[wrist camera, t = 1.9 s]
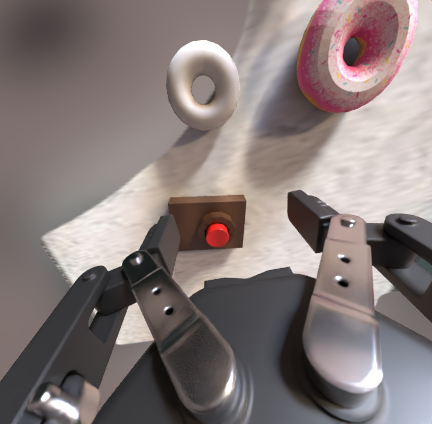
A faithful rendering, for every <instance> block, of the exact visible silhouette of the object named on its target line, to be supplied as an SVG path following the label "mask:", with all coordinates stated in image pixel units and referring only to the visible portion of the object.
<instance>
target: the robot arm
mask: <svg viewBox="0 0 432 424" xmlns="http://www.w3.org/2000/svg"><path fill="white" fill-rule="evenodd" d="M287 213H288V218H289V220H290V222H291V223H292V224H293V226H294V227H295V228H296V229H297V231H298V232H299V233H300V234H301V236H302V237H303V238H304V239H305V241H306V242H307V243H308V244H309V246H310V247H311V248H312V249H313V251H314V252H315V253H321V252H322V257H321V261H320V265H319V269H318V274H317V278H316V279H315V278H312V277H309V276H306V275H302V274H293V272H292V271H291V269H290V267H285V268H279V269H273V270H268V271H265V272H263V273H261V274H258V275H256V276H253V277H251V278H248V279H242V278H220V279H214V280H208V281H204V288H203V289H201V290H199V291H197V292H196V293H194V294H193V295H192V296H190V297H189V298H188V297H187V295H186V294H185V293H184V292H183V291H182V289H181V288H180V287H179V286H178V284H177V283H176V282H175V281H174V280H173V278H172V275H173V270H174V266H175V261H176V257H177V253H178V248H179V244H180V233H179V230H178V227H177V225H176V222H175V219H174V216H173V215H172V214H170V215H165V216H161V217H160V219H159V221H158V223H157V224H155V225H154V226H152V227H151V228H150V230H149V231H148V233H147V235H146V237H145V239H144V241H143V243H142V245H141V247H140V249H139V251H136V252H134V253H132V254H130V255H129V256H127V257H126V258H125V260H124V261H123V263H122V266H121V267H118V268H116V269H113V270H111V271H107V269H106V268H105V267H104V266H96V267H93V268H91V269H89V270H87V271H86V272H84V273H83V274H82V275H81V276H80V277H79V278H78V279H77V280H76V281H75V283H74V284H73V285H72V287H71V288H70V289H69V291H68V292H67V293H66V295H65V296H64V298H63V299H62V300H61V301H60V303H59V304H58V305H57V307H56V308H55V309H54V311H53V312H52V313H51V315H50V316H49V317H48V319H47V320H46V322H45V323H44V324H43V326H42V327H41V328H40V329H39V331H38V332H37V334H36V335H35V336H34V338H33V339H32V340H31V341H30V343H29V344H28V346H27V347H26V348H25V349H24V351H23V352H22V353H21V355H20V356H19V358H18V359H17V360H16V361H15V363H14V364H13V365H12V367H11V368H10V369H9V371H8V372H7V374H6V375H5V376H4V378H3V379H2V380H1V382H0V424H432V341H431V340H429V339H427V338H425V337H424V336H422V335H420V334H418V333H416V332H414V331H412V330H411V329H409V328H407V327H405V326H403V325H401V324H399V323H398V322H396V321H394V320H392V319H390V318H388V317H386V316H385V315H383V314H381V313H379V312H377V311H375V310H374V293H373V276H372V266H374V267H375V268H376V269H377V270H378V271H379V272H380V273H381V274H382V275H383V276H384V277H385V278H386V279H387V280H389V281H390V282H391V283H392V284H393V285H394V286H395V287H396V288H397V289H398V290H399V291H400V292H401V293H402V294H403V295H404V296H405V297H406V298H407V299H408V300H409V301H410V302H411V303H412V304H413V305H414V306H415V307H416V308H417V309H418V310H419V311H420V312H422V314H423V315H424V316H425V317H426V318H428V319H429V320H430V321H431V322H432V275H431V274H429V273H428V272H427V271H425V270H424V269H423V268H421V267H420V266H419V265H417V264H416V263H415V262H414V259H415V257H416V255H419V256H420V257H422V258H423V259H425V260H426V261H427V262H429V263H430V264H431V265H432V223H430V222H428V221H427V220H425V219H422V218H420V217H417V216H414V215H409V214H390V215H388V216H386V218H385V221H384V223H366V222H365V221H364V220H363V219H362V218H360V217H358V216H355V215H351V214H339V213H338V212H337V211H335V210H334V209H332V208H331V207H330V206H327V204H326V203H324V202H323V201H321V200H320V199H319V198H317V197H314V196H311V195H309V196H308V195H307V194H306V193H304V192H303V191H302V190H297V191H292V192H289V193H288V207H287ZM136 302H137V303H138V305H139V307H140V309H141V312H142V314H143V316H144V318H145V320H146V322H147V325H148V327H149V329H150V331H151V333H152V336H153V338H154V341H153V343H152V344H151V345H150V346H149V348H148V349H147V350H146V351H145V353H144V354H143V355H142V357H141V358H140V359H139V360H138V362H137V363H136V364H135V365H134V367H133V368H132V369H131V371H130V372H129V373H128V374H127V376H126V377H125V378H124V379H123V381H122V382H121V383H120V385H119V386H118V387H117V388H116V390H115V391H114V392H113V393H112V395H111V396H110V397H109V399H108V400H107V401H106V402H105V404H104V405H103V407H102V408H101V409H100V410H99V408H100V403H101V395H100V392H99V390H98V389H99V386H100V383H101V380H102V377H103V375H104V372H105V369H106V366H107V364H108V361H109V358H110V356H111V353H112V350H113V347H114V344H115V342H116V339H117V336H118V334H119V331H120V328H121V325H122V323H123V320H124V317H125V314H126V312H127V309H128V306H130V305H132V304H134V303H136ZM94 308H95V309H96V310H97V313H96V315H95V317H94V319H93V321H92V323H91V325H90V327H88V320H89V317H90V315H91V313H92V312H93V310H94Z"/></svg>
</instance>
